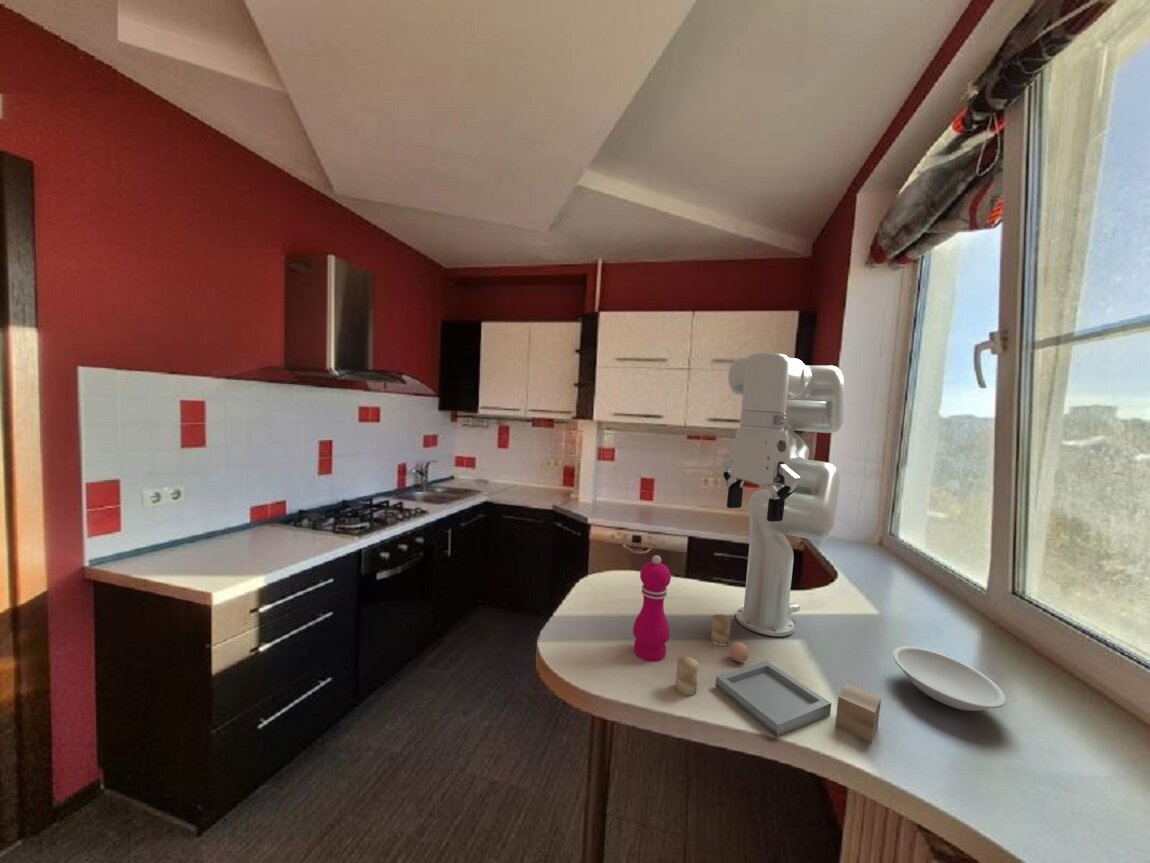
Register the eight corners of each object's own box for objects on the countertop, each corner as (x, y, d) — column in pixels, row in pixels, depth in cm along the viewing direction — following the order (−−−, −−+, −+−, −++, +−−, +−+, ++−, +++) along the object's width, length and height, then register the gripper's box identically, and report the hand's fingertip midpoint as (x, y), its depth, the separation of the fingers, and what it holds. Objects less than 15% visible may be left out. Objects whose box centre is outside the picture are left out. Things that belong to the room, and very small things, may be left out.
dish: (870, 667, 91) (873, 643, 90) (944, 672, 90) (947, 648, 90) (938, 732, 73) (942, 703, 73) (1030, 739, 73) (1034, 709, 72)
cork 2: (719, 635, 100) (721, 613, 99) (732, 643, 97) (734, 621, 96) (707, 638, 98) (709, 616, 98) (719, 647, 95) (721, 624, 94)
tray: (765, 670, 87) (766, 660, 87) (830, 714, 76) (831, 703, 76) (715, 686, 81) (716, 676, 81) (776, 737, 70) (777, 724, 70)
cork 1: (686, 681, 83) (689, 654, 82) (700, 693, 79) (703, 666, 79) (671, 685, 81) (673, 659, 81) (684, 698, 78) (686, 670, 77)
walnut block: (842, 711, 77) (845, 683, 77) (877, 727, 74) (881, 698, 73) (835, 726, 73) (838, 696, 73) (871, 743, 70) (875, 712, 70)
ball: (737, 653, 93) (739, 637, 92) (752, 663, 89) (753, 646, 89) (724, 657, 91) (726, 640, 91) (738, 667, 88) (740, 649, 87)
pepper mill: (667, 665, 87) (675, 564, 85) (630, 659, 88) (637, 559, 87) (668, 645, 94) (675, 551, 93) (633, 640, 96) (639, 547, 94)
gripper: (818, 426, 77) (808, 525, 78) (741, 419, 92) (734, 502, 94) (787, 424, 74) (777, 528, 75) (713, 418, 89) (705, 503, 90)
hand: (753, 513), depth 84 cm, fingers open, 9 cm apart
